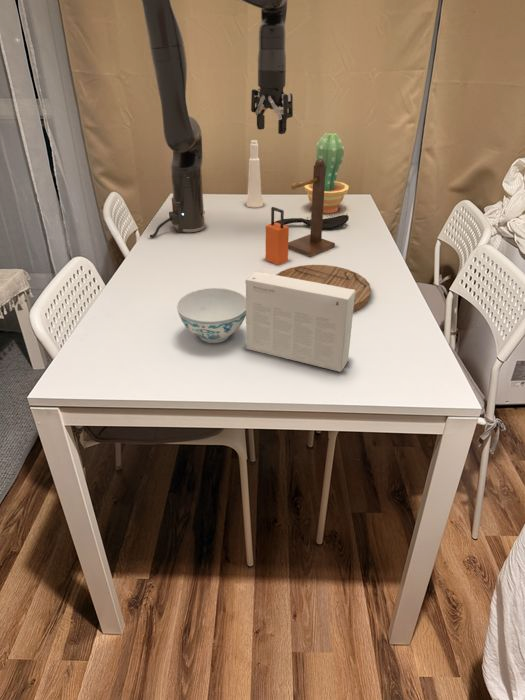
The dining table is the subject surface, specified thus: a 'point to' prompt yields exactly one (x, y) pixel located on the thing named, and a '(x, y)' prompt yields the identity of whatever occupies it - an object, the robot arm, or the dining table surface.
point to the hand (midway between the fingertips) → (271, 131)
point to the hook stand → (314, 215)
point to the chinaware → (212, 313)
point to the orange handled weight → (277, 239)
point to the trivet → (333, 280)
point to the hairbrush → (326, 224)
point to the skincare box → (299, 320)
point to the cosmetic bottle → (254, 178)
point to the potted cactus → (330, 172)
